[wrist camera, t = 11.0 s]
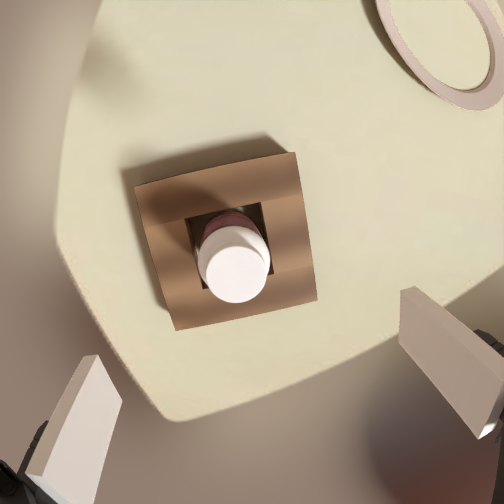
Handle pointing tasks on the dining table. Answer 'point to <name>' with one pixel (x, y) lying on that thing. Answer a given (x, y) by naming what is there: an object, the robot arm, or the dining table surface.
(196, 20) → the dining table surface
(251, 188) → the socket block
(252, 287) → the pill bottle
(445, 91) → the plate
